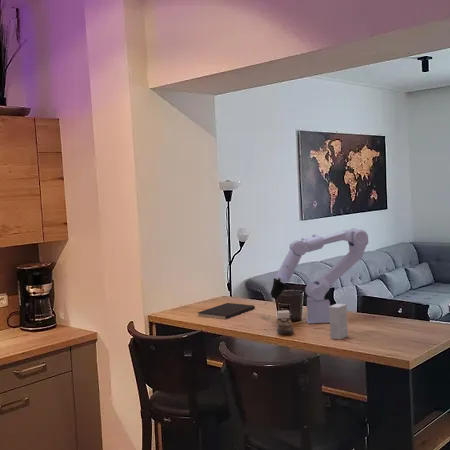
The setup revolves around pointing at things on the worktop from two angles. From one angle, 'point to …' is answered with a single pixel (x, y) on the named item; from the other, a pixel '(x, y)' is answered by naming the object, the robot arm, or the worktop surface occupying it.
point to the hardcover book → (226, 310)
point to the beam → (284, 326)
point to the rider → (283, 315)
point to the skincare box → (338, 321)
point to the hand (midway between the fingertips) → (273, 297)
